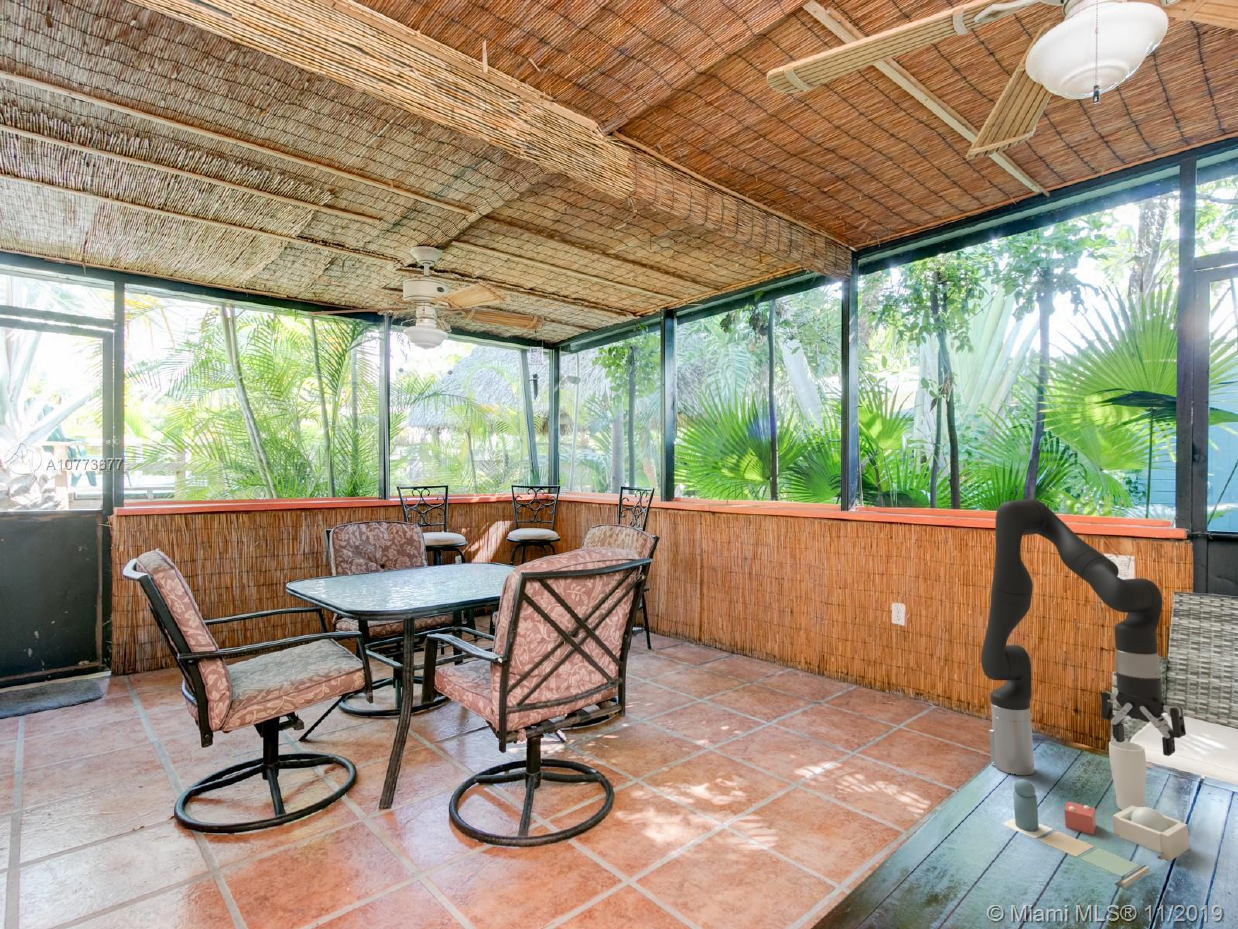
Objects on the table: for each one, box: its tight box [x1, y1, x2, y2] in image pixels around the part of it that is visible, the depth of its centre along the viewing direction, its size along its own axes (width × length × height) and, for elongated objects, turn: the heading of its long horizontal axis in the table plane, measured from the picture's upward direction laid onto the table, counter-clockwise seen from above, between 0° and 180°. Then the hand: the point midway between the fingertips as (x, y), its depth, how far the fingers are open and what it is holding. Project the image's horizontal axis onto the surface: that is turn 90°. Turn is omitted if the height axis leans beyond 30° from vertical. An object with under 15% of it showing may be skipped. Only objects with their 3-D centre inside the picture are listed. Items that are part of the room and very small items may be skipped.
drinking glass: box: [1108, 739, 1147, 811], centre depth 149 cm, size 7×7×15 cm
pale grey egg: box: [1131, 806, 1168, 832], centre depth 135 cm, size 6×6×7 cm
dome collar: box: [1112, 805, 1190, 862], centre depth 135 cm, size 10×10×5 cm
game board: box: [1001, 817, 1150, 889], centre depth 134 cm, size 25×10×1 cm, turn 28°
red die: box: [1064, 801, 1097, 836], centre depth 140 cm, size 5×5×6 cm
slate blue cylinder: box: [1013, 778, 1039, 832], centre depth 141 cm, size 4×4×10 cm
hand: (1143, 748), depth 136 cm, fingers open, 8 cm apart
